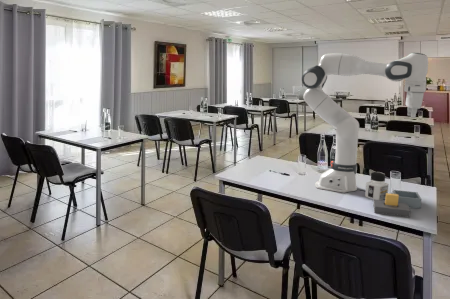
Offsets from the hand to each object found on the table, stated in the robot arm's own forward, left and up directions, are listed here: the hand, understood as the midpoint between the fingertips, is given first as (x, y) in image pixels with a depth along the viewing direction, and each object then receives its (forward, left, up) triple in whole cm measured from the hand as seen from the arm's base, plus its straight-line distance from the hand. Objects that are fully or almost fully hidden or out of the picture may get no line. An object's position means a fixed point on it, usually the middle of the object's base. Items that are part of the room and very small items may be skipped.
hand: (411, 116), depth 164 cm
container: (-12, -4, -42) cm, 44 cm away
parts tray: (+1, -8, -41) cm, 42 cm away
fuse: (-7, -22, -41) cm, 48 cm away
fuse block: (-7, -22, -41) cm, 48 cm away
